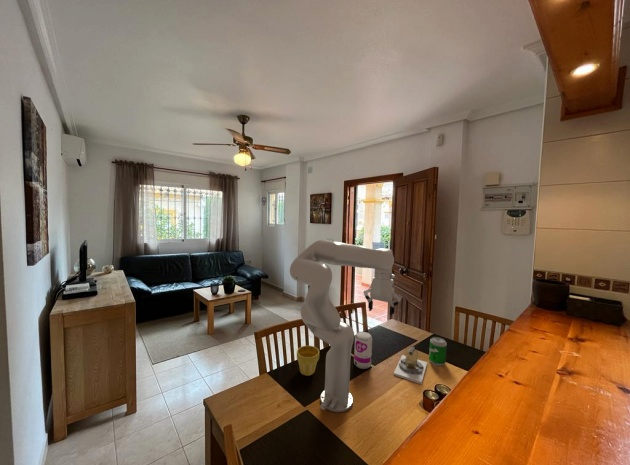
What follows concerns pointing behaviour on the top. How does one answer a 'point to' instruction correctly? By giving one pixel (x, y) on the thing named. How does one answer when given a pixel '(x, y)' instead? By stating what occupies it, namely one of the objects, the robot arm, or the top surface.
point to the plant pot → (307, 359)
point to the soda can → (437, 351)
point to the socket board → (411, 370)
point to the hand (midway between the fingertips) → (380, 312)
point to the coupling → (411, 358)
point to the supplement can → (363, 350)
